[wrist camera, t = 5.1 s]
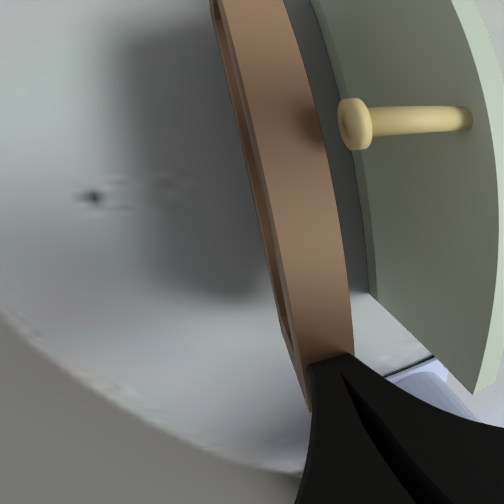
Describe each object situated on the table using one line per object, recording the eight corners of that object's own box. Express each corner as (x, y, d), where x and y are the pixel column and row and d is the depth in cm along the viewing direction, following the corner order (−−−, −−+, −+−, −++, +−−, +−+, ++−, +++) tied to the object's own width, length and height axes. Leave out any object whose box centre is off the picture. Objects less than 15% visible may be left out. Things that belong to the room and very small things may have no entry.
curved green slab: (422, 277, 17) (534, 353, 8) (309, 310, 17) (381, 440, 8) (369, 0, 13) (459, -82, 3) (243, 2, 12) (263, -128, 3)
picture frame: (313, 323, 14) (356, 398, 9) (281, 331, 14) (309, 412, 9) (243, 6, 11) (251, -75, 5) (210, 11, 11) (202, -69, 5)
